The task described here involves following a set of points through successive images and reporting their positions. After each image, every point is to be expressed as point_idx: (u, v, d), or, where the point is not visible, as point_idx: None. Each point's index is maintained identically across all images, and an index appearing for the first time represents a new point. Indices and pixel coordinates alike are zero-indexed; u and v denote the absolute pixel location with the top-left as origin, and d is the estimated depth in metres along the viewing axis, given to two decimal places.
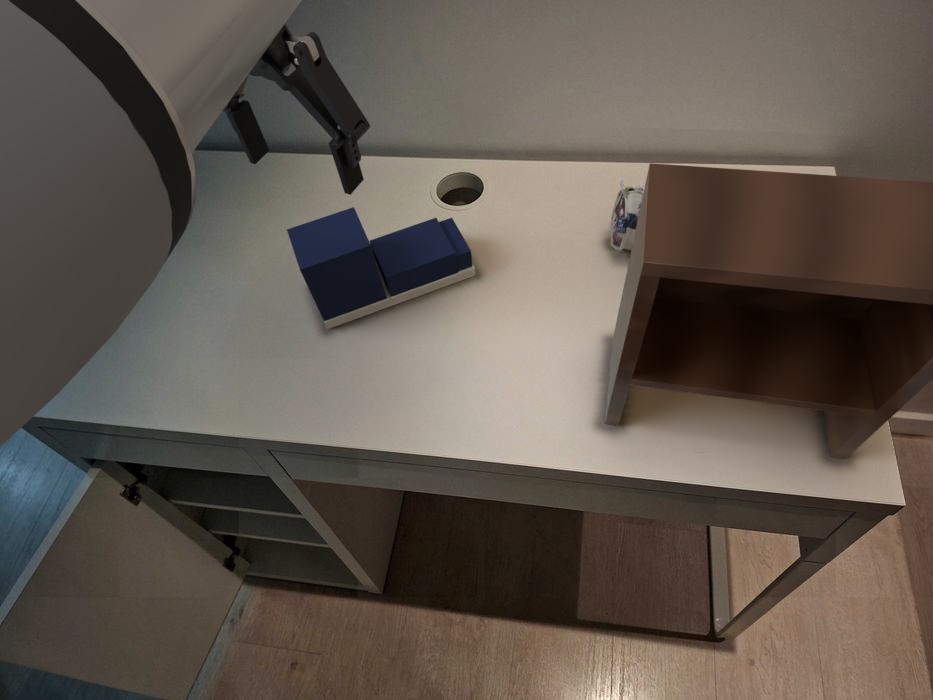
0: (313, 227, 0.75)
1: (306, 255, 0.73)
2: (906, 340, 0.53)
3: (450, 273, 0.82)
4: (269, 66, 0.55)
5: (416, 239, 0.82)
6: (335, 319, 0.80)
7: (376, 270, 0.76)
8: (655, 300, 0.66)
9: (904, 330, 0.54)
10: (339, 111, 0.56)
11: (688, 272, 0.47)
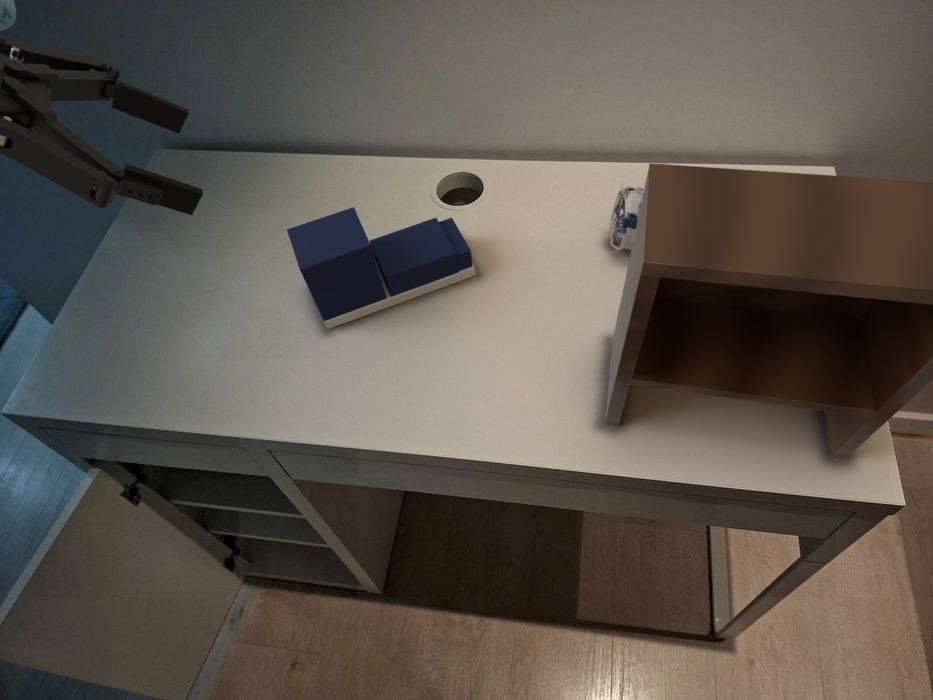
0: (313, 227, 0.75)
1: (306, 255, 0.73)
2: (906, 340, 0.53)
3: (450, 273, 0.82)
4: (25, 65, 0.51)
5: (416, 239, 0.82)
6: (335, 319, 0.80)
7: (376, 270, 0.76)
8: (655, 300, 0.66)
9: (904, 330, 0.54)
10: (72, 54, 0.57)
11: (688, 272, 0.47)
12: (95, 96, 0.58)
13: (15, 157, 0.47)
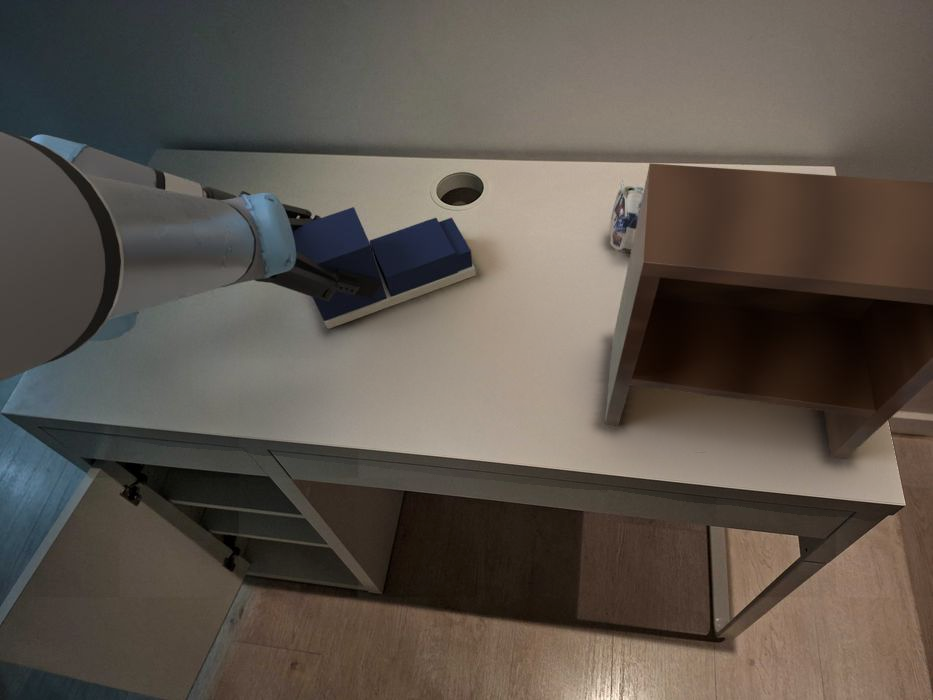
0: (313, 227, 0.75)
1: (306, 255, 0.73)
2: (906, 340, 0.53)
3: (450, 273, 0.82)
4: None
5: (416, 239, 0.82)
6: (335, 319, 0.80)
7: (376, 270, 0.76)
8: (655, 300, 0.66)
9: (904, 330, 0.54)
10: (288, 205, 0.77)
11: (688, 272, 0.47)
12: None
13: (276, 282, 0.68)
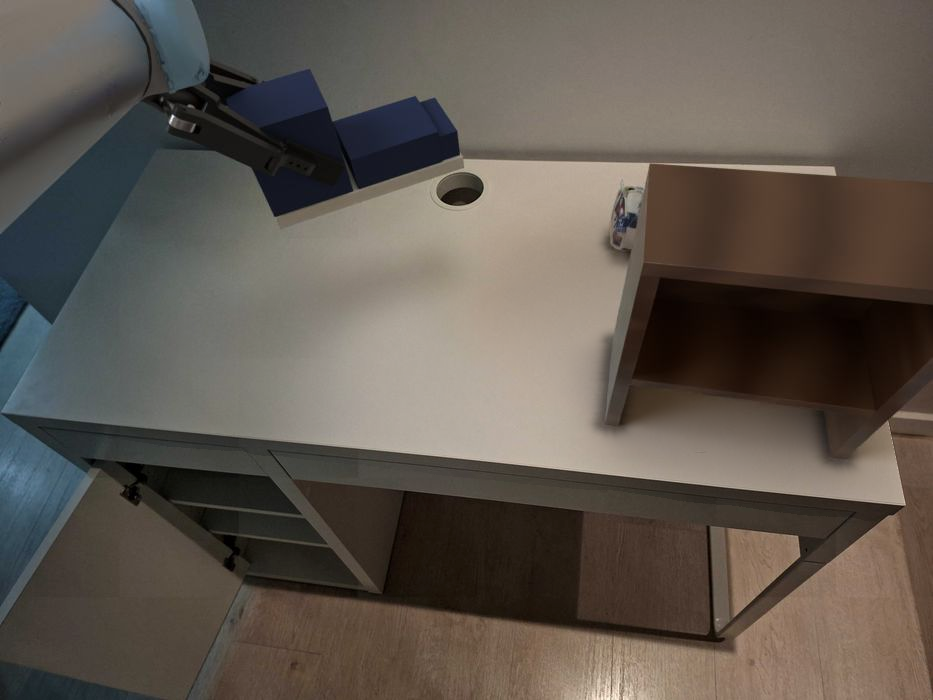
0: (257, 90, 0.60)
1: None
2: (906, 340, 0.53)
3: (432, 162, 0.67)
4: None
5: (390, 118, 0.66)
6: (288, 215, 0.65)
7: (337, 147, 0.61)
8: (655, 300, 0.66)
9: (904, 330, 0.54)
10: (227, 66, 0.61)
11: (688, 272, 0.47)
12: None
13: (201, 142, 0.52)
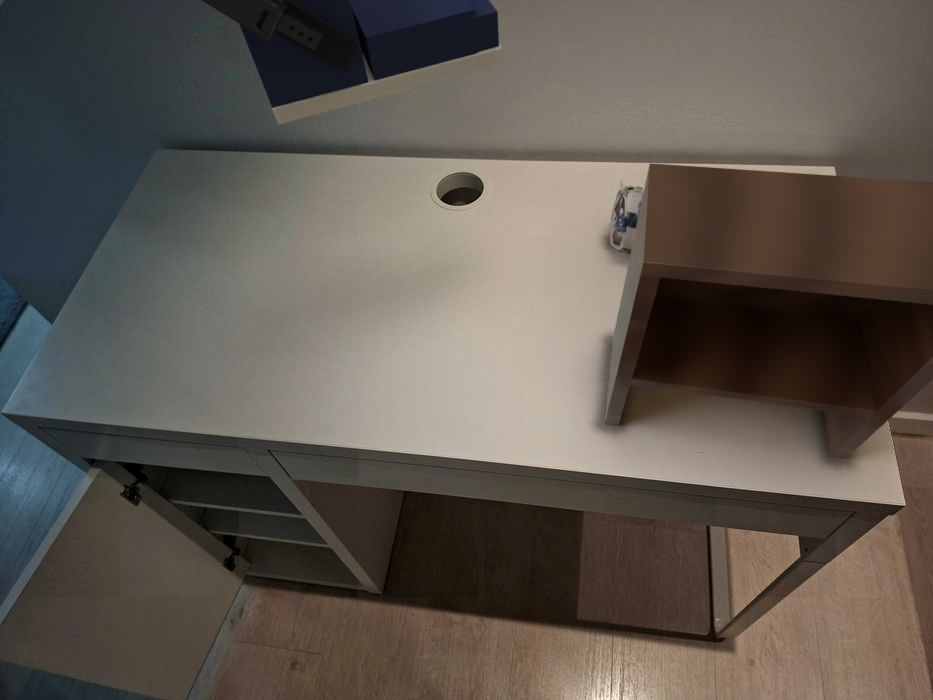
0: None
1: None
2: (906, 340, 0.53)
3: (465, 52, 0.55)
4: None
5: None
6: (289, 106, 0.54)
7: (350, 17, 0.49)
8: (655, 300, 0.66)
9: (904, 330, 0.54)
10: None
11: (688, 272, 0.47)
12: None
13: None
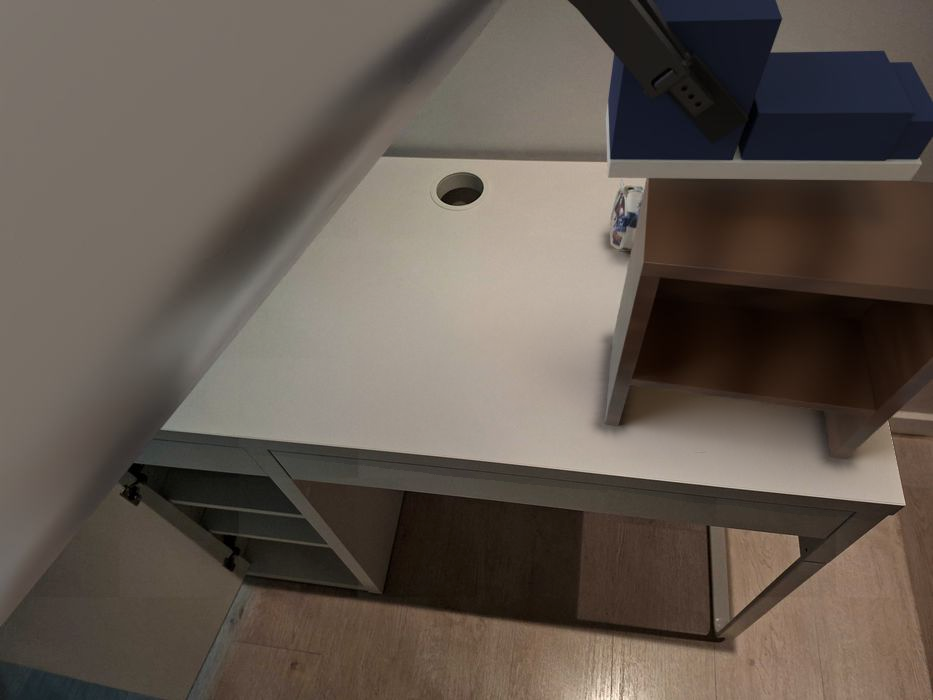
0: None
1: None
2: (906, 340, 0.53)
3: (871, 156, 0.43)
4: None
5: (836, 72, 0.43)
6: (629, 163, 0.45)
7: (754, 87, 0.40)
8: (655, 300, 0.66)
9: (904, 330, 0.54)
10: None
11: (688, 272, 0.47)
12: None
13: (587, 14, 0.34)
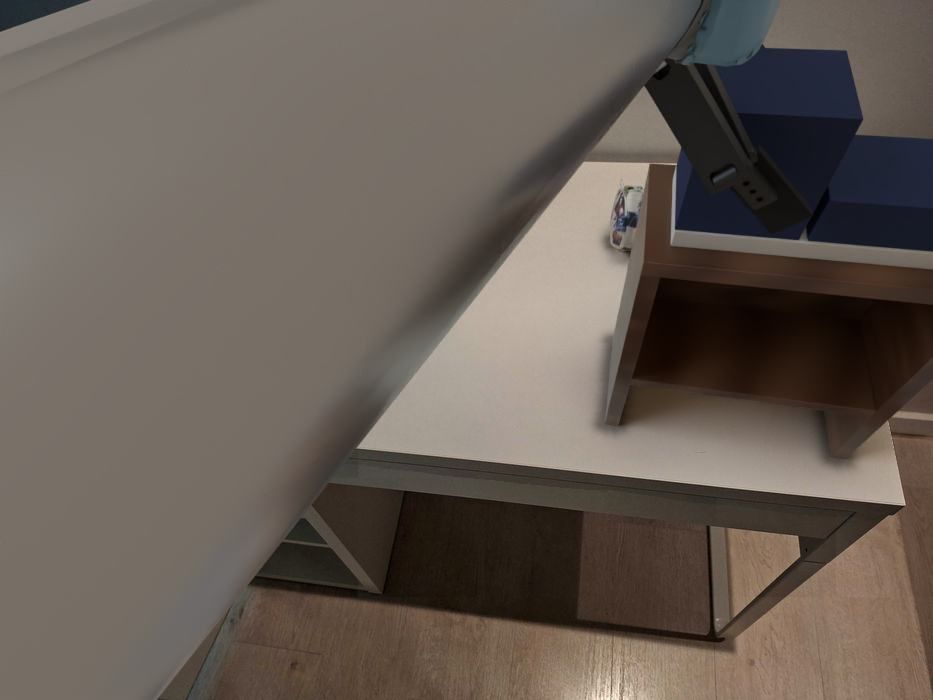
0: (757, 57, 0.40)
1: (729, 93, 0.39)
2: (906, 340, 0.53)
3: None
4: None
5: (913, 162, 0.43)
6: (694, 235, 0.46)
7: (828, 177, 0.40)
8: (655, 300, 0.66)
9: (904, 330, 0.54)
10: None
11: (688, 272, 0.47)
12: None
13: (654, 93, 0.34)
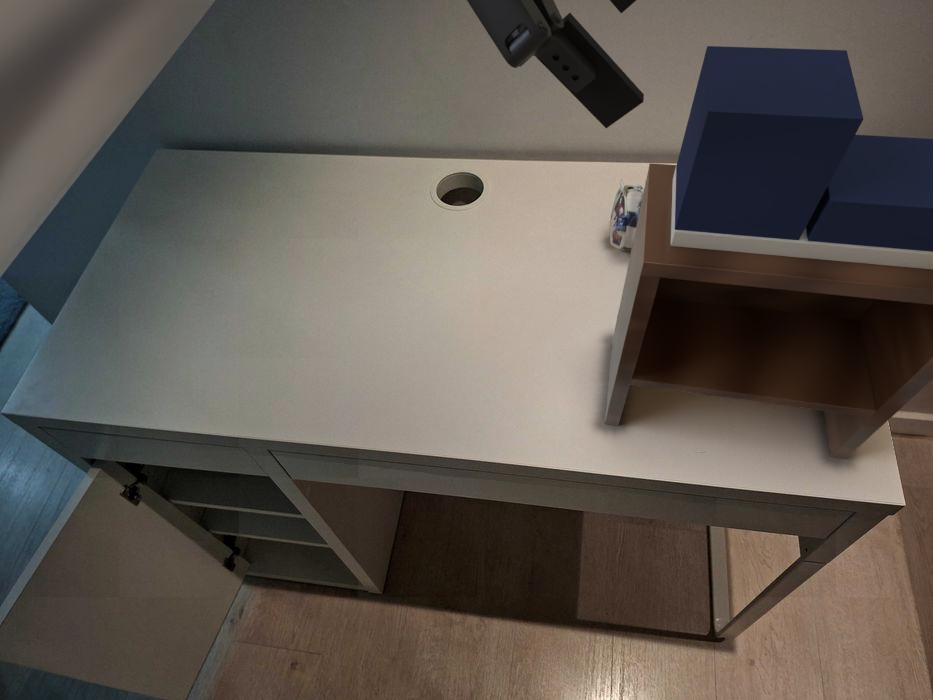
0: (757, 57, 0.40)
1: (729, 93, 0.39)
2: (906, 340, 0.53)
3: None
4: None
5: (913, 162, 0.43)
6: (694, 235, 0.46)
7: (828, 177, 0.40)
8: (655, 300, 0.66)
9: (904, 330, 0.54)
10: None
11: (688, 272, 0.47)
12: None
13: None
